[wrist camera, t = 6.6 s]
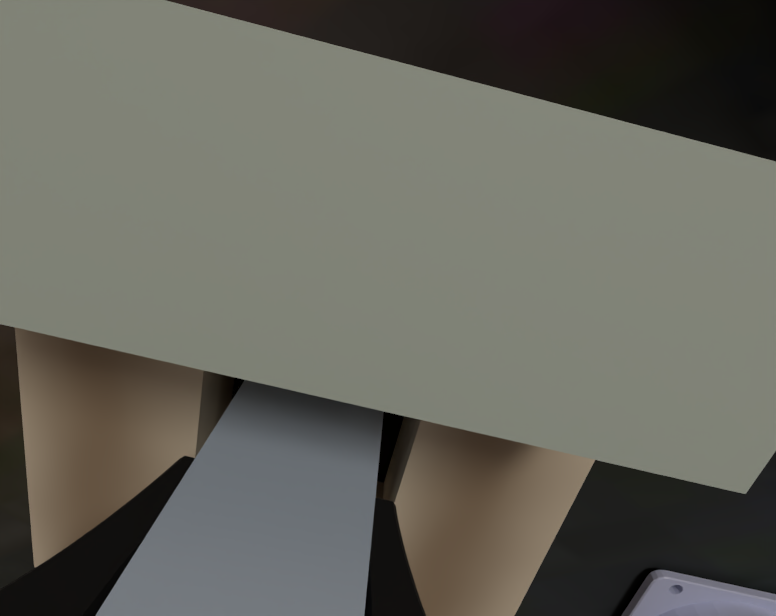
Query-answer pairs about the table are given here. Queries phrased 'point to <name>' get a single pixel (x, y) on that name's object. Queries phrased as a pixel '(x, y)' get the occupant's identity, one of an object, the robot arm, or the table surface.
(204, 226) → the wide sage green panel
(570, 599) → the table surface
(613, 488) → the table surface
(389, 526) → the robot arm
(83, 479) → the socket plate
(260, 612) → the peg
